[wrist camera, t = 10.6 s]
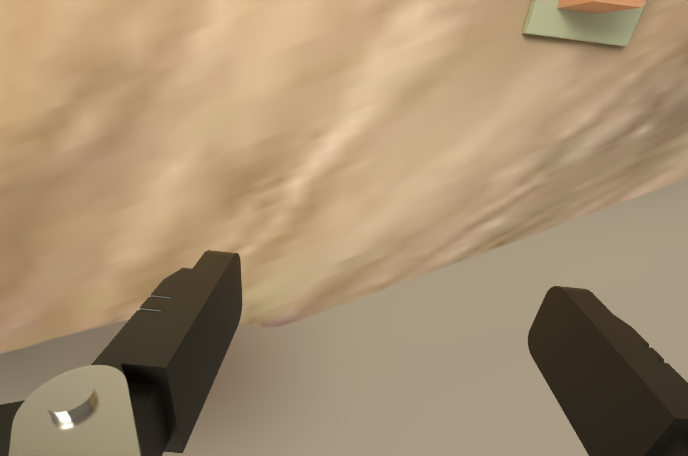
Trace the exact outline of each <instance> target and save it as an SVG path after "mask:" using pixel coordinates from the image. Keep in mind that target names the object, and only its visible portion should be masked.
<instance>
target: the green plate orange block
mask: <svg viewBox="0 0 688 456" xmlns="http://www.w3.org/2000/svg"><path fill="white" fill-rule="evenodd" d="M646 2H647V0H532V3H531V6H530V9H529V12H528V16H527V19H526V22H525V25H524V28H523V32H522V33H523V34H531V35H539V36H547V37H554V38H562V39H570V40H577V41H585V42H593V43H600V44H608V45H616V46H627V45H628V43H629V40H630V38H631V36H632V34H633V31H634V29H635V27H636V25H637V22H638V20H639V18H640V16H641V13H642V11H643V9H644V6H645V4H646Z"/></svg>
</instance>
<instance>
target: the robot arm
mask: <svg viewBox="0 0 688 456" xmlns="http://www.w3.org/2000/svg"><path fill="white" fill-rule="evenodd" d="M241 311H242V286H241V264H240V257H239V254H238V253H230V252H220V251H210V250H208V251H206V252H205V253H204V254H203V256H202V257H201V258H200V259H199V261H198V262H197V263H196V265H195V266H194V267H193V269H189V268H182V269H180V270H178V271H177V272H175V273H173V274H172V275H170V276H169V277H167V278H165V279H164V280H163V281H162V282H161V283H160V284H159V286H158V287H157V288H156V289H155V290H154V291H153V293H152V294H151V297H148V299H147V300H146V301H145V302H144V303H143V304H142V306H141V307H140V310H139V311H137V312H136V313H135V314H134V315H133V316H132V317H131V319H130V320H129V321H128V322H127V323H126V324H125V326H124V327H123V328H122V329H121V330H120V332H119V333H118V334H117V335H116V336H115V338H114V339H113V340H112V341H111V342H110V344H109V345H108V346H107V347H106V348H105V349H104V350H103V352H102V353H101V354H100V355H99V356H98V358H97V359H96V360H95V361H94V362H93V363H92V365H90V366H84V367H80V368H76V369H73V370H70V371H67V372H65V373H63V374H61V375H59V376H56V377H55V378H53V379H51V380H49V381H48V382H46V383H45V384H43V385H42V386H41V387H39V388H38V389H36V390H35V391H34V392H33V393H32V394H31V395H30V396H29V397H28V398H27V399H26V400H24V401H20V402H14V403H8V404H3V405H0V456H162V454H163V452H175V453H183V451H184V449H185V447H186V444H187V442H188V440H189V437H190V435H191V433H192V430H193V428H194V426H195V424H196V421H197V419H198V417H199V414H200V412H201V410H202V407H203V405H204V403H205V400H206V398H207V396H208V393H209V391H210V389H211V386H212V384H213V382H214V379H215V377H216V375H217V373H218V370H219V368H220V366H221V363H222V361H223V359H224V357H225V354H226V352H227V350H228V347H229V345H230V343H231V340H232V338H233V336H234V333H235V331H236V329H237V327H238V324H239V321H240V316H241ZM528 346H529V350H530V353H531V356H532V358H533V359H534V361H535V363H536V364H537V366H538V368H539V370H540V371H541V373H542V375H543V377H544V378H545V380H546V382H547V383H548V385H549V387H550V389H551V390H552V392H553V394H554V396H555V397H556V399H557V401H558V403H559V404H560V406H561V408H562V410H563V411H564V413H565V415H566V416H567V418H568V420H569V422H570V423H571V425H572V427H573V429H574V430H575V432H576V434H577V436H578V437H579V439H580V441H581V442H582V444H583V446H584V448H585V449H586V451H587V453H588V455H589V456H688V383H687V382H686V381H685V380H684V379H683V378H682V377H681V376H680V375H679V374H678V373H677V372H676V371H675V370H674V369H673V368H672V367H671V366H670V365H669V364H668V363H664V359H663V358H662V357H661V356H660V355H659V354H658V353H657V352H656V351H655V350H654V349H653V348H649V344H648V343H647V342H646V341H645V340H644V339H643V338H642V337H641V336H640V335H639V334H638V333H637V332H636V331H635V330H634V329H633V328H632V327H631V326H629V325H628V324H627V323H625V322H623V321H622V320H621V319H619V318H618V317H616V316H615V315H613V314H612V313H611V312H610V311H609V310H608V309H607V308H606V307H605V306H604V305H603V304H602V303H601V301H600V300H598V298H596V296H595V295H594V294H593V293H592V292H590V291H589V290H587V289H580V288H570V287H560V286H554V287H552V288H550V290H548V292H547V294H546V296H545V298H544V300H543V302H542V304H541V306H540V309H539V311H538V313H537V315H536V317H535V320H534V322H533V324H532V326H531V329H530V331H529V335H528Z"/></svg>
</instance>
